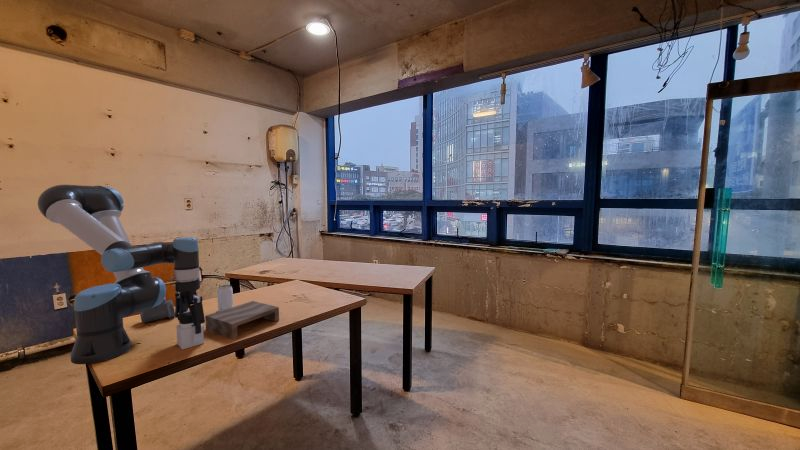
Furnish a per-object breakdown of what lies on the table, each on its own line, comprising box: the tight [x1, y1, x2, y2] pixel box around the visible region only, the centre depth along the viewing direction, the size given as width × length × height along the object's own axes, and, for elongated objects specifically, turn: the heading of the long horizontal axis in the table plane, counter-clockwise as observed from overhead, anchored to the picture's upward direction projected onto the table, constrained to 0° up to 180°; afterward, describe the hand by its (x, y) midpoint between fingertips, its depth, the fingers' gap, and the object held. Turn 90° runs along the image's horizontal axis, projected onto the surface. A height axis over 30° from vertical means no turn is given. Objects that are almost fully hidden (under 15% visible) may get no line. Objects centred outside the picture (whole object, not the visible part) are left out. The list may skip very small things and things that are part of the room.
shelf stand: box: [204, 300, 280, 340], centre depth 133 cm, size 18×22×6 cm
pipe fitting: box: [139, 296, 175, 324], centre depth 138 cm, size 12×8×10 cm, turn 133°
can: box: [216, 284, 234, 312], centre depth 151 cm, size 6×6×12 cm
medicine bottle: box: [175, 310, 205, 351], centre depth 115 cm, size 7×7×12 cm
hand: (190, 339), depth 115 cm, fingers closed on medicine bottle, 8 cm apart
